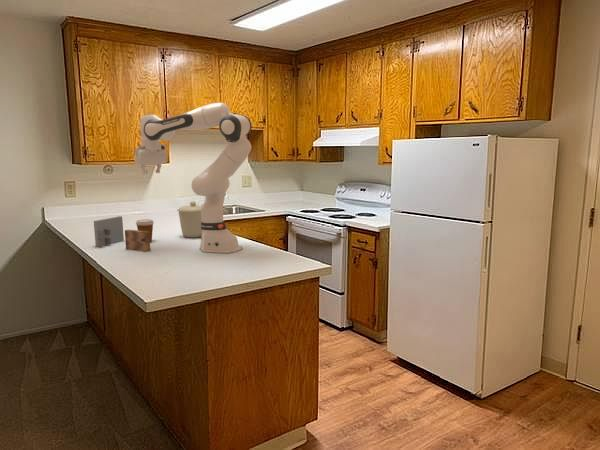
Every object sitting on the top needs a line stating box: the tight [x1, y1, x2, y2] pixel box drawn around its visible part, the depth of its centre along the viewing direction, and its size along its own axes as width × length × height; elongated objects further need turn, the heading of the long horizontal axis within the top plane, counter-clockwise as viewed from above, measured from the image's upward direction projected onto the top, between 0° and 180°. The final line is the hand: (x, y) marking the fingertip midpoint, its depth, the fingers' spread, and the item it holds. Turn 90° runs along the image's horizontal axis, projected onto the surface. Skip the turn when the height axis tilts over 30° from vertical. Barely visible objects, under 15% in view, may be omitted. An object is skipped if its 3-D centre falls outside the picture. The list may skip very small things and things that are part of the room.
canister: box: [177, 200, 202, 239], centre depth 266 cm, size 18×18×21 cm
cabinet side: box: [93, 215, 125, 248], centre depth 246 cm, size 5×18×14 cm, turn 157°
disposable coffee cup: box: [135, 218, 155, 243], centre depth 252 cm, size 10×10×12 cm
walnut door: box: [124, 229, 151, 252], centre depth 231 cm, size 14×4×10 cm, turn 67°
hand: (151, 173), depth 235 cm, fingers open, 8 cm apart
